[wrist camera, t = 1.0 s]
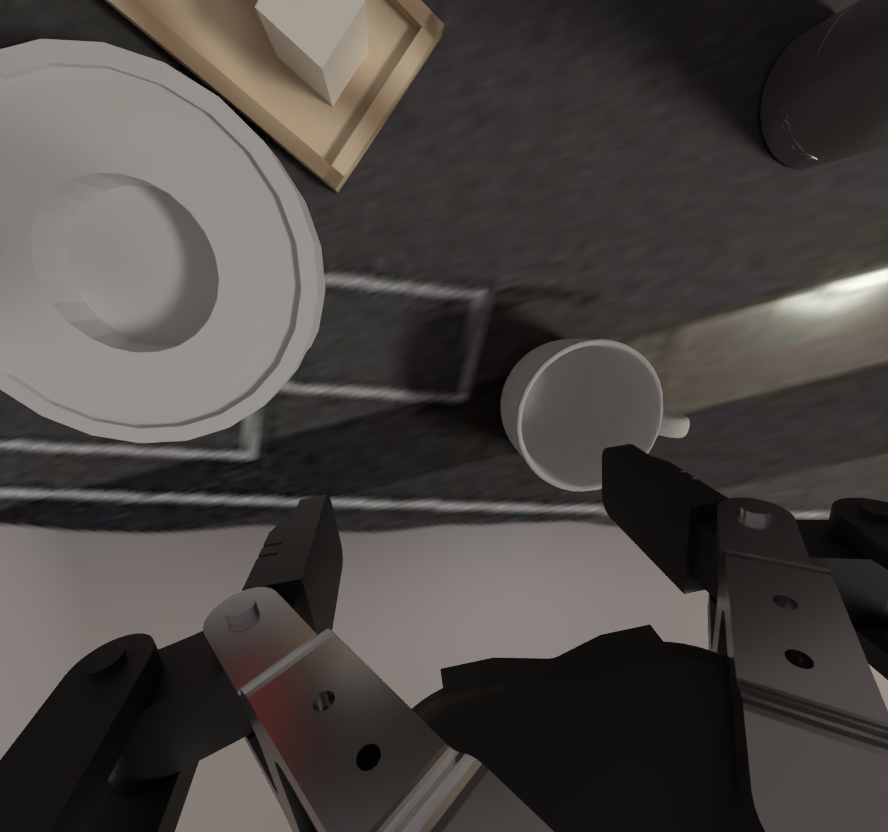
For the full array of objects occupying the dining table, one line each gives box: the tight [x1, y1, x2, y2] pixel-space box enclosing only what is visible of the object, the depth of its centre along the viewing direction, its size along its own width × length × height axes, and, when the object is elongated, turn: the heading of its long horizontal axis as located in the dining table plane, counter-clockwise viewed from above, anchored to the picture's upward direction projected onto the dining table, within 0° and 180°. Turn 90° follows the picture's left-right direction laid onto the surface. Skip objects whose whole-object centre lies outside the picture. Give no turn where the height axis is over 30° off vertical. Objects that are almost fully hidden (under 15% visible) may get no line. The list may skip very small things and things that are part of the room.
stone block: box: [255, 0, 368, 107], centre depth 24 cm, size 4×4×5 cm
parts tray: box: [105, 0, 444, 193], centre depth 25 cm, size 12×18×1 cm, turn 52°
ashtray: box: [0, 39, 325, 443], centre depth 28 cm, size 23×23×4 cm
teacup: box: [501, 339, 690, 492], centre depth 32 cm, size 14×11×8 cm
